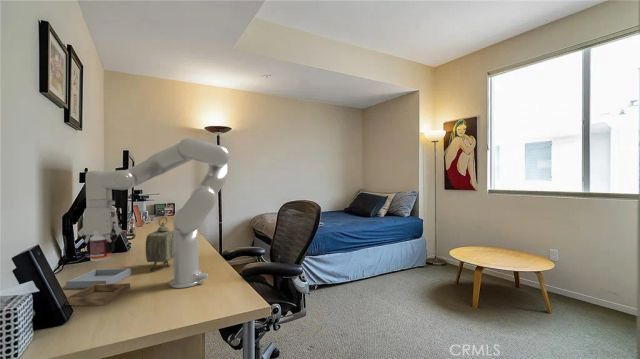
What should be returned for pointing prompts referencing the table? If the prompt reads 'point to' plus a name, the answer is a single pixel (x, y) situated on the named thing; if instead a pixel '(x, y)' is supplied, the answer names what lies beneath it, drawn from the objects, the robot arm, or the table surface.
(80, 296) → the walnut frame
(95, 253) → the pill bottle
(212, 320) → the table surface
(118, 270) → the slate tray
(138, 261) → the table surface
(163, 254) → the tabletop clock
